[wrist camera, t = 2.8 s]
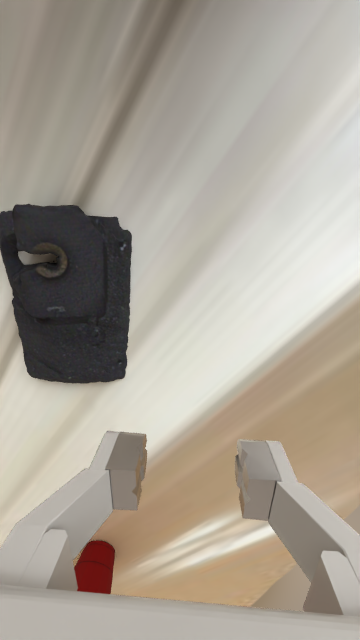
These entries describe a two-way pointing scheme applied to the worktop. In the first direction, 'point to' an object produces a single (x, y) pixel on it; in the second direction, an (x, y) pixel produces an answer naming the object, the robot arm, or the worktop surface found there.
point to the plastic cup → (95, 568)
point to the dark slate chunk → (69, 292)
